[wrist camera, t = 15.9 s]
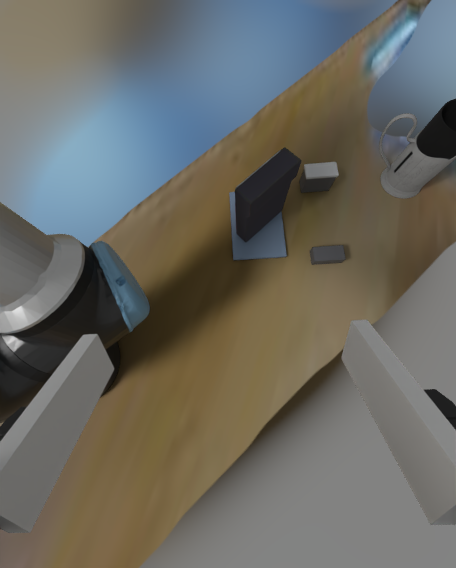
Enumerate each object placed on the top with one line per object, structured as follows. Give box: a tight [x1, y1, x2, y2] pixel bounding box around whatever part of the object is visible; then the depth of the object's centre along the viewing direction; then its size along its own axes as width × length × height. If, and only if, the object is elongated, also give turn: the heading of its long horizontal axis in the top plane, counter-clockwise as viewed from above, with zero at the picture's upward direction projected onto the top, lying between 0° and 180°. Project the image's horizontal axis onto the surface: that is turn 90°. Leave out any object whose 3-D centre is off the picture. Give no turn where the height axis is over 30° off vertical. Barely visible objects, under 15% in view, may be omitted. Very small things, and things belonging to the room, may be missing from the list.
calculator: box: [235, 148, 301, 242], centre depth 42 cm, size 11×4×15 cm, turn 133°
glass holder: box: [379, 99, 456, 198], centre depth 43 cm, size 9×14×15 cm, turn 73°
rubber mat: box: [229, 192, 287, 260], centre depth 49 cm, size 11×16×1 cm
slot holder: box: [300, 162, 346, 265], centre depth 47 cm, size 6×20×5 cm, turn 3°
